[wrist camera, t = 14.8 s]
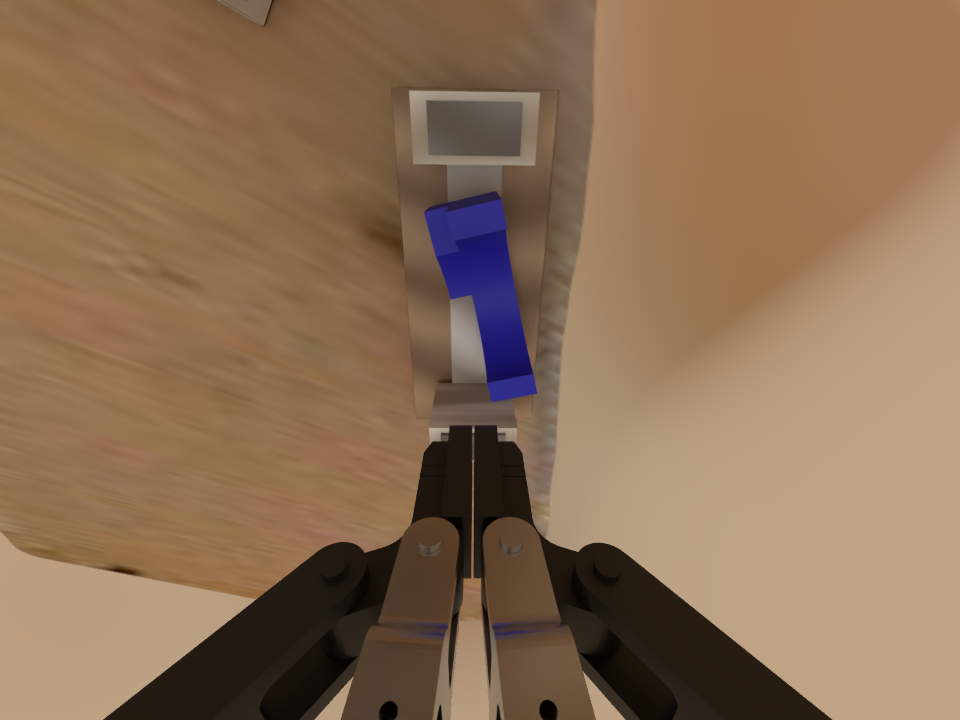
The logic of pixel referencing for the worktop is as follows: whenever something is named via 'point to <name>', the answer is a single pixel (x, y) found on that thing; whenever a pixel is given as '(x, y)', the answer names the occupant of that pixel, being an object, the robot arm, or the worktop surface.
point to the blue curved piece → (484, 285)
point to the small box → (250, 9)
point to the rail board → (525, 197)
